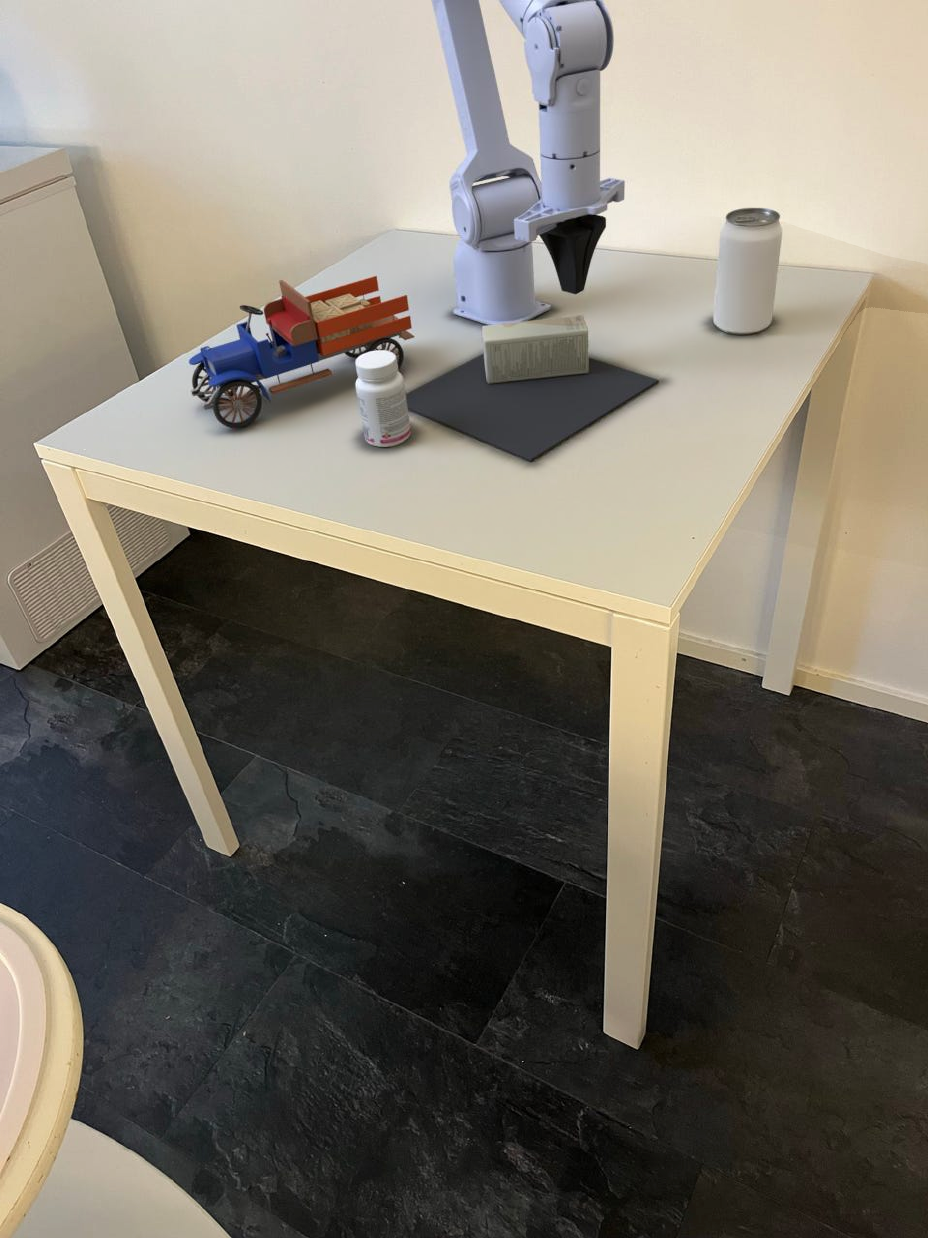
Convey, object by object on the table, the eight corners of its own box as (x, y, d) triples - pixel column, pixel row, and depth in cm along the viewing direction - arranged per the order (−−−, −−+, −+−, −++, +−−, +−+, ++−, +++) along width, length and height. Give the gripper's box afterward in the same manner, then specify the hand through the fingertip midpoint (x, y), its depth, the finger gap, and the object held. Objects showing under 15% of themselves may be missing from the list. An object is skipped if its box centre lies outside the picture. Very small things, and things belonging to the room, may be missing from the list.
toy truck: (192, 408, 106) (163, 312, 99) (392, 343, 115) (378, 250, 107) (216, 438, 100) (187, 338, 93) (425, 367, 109) (413, 271, 102)
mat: (392, 403, 103) (392, 400, 103) (519, 336, 113) (519, 334, 113) (530, 462, 91) (530, 459, 91) (658, 382, 101) (658, 379, 101)
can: (772, 335, 107) (786, 225, 99) (712, 335, 108) (721, 227, 101) (770, 311, 112) (783, 205, 104) (713, 312, 113) (721, 206, 105)
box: (583, 313, 103) (481, 322, 103) (589, 330, 100) (483, 338, 100) (583, 359, 107) (484, 367, 107) (588, 376, 103) (486, 385, 103)
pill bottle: (418, 426, 98) (407, 349, 93) (401, 450, 95) (389, 371, 90) (375, 422, 100) (363, 346, 94) (357, 446, 97) (343, 368, 91)
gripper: (551, 177, 86) (555, 323, 95) (650, 136, 93) (646, 275, 102) (494, 166, 90) (503, 307, 99) (593, 128, 97) (594, 262, 106)
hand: (572, 290), depth 101 cm, fingers closed
